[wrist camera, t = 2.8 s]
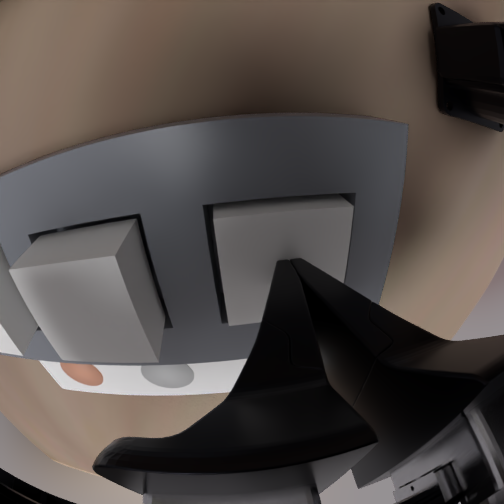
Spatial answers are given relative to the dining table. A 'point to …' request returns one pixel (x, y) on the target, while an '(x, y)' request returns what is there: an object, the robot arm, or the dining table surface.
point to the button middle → (93, 293)
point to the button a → (13, 314)
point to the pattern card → (148, 378)
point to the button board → (210, 206)
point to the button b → (276, 245)
